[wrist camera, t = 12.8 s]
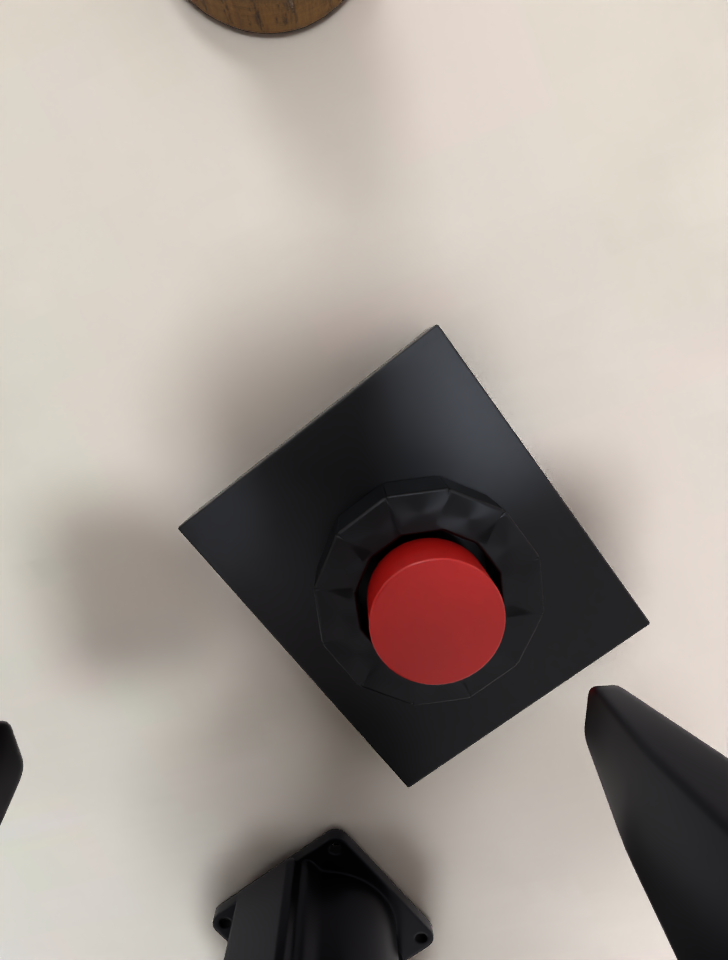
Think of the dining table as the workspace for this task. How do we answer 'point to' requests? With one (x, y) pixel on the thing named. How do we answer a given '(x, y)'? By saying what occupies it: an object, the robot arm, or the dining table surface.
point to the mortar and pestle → (267, 13)
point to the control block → (405, 517)
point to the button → (434, 612)
